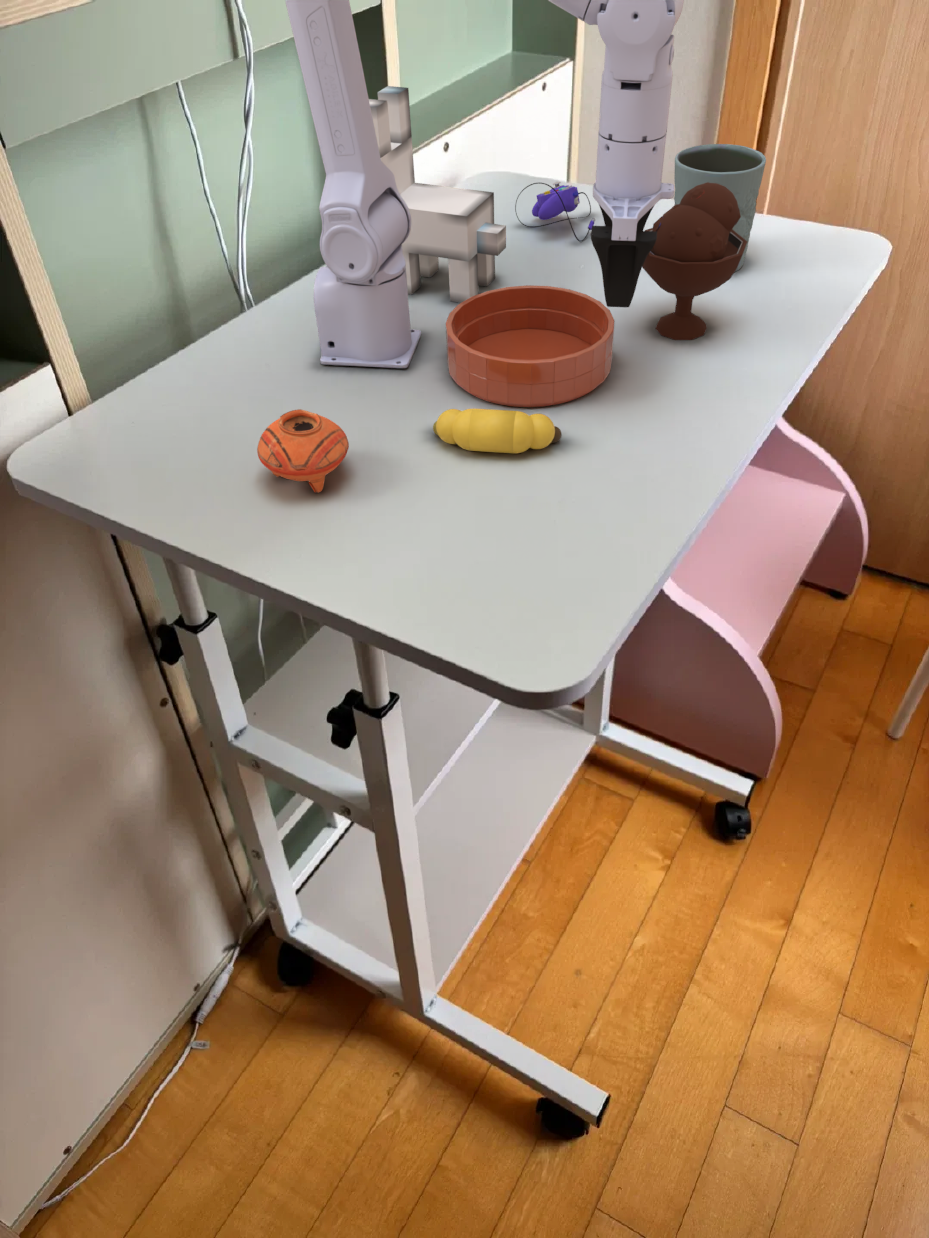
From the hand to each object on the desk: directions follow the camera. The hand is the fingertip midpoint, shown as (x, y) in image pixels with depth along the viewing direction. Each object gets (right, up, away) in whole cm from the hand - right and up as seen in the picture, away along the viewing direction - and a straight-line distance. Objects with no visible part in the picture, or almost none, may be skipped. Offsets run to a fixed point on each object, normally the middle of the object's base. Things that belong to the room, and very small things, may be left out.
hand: (619, 287), depth 90 cm
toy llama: (-18, +9, +25) cm, 32 cm away
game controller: (-1, +20, +36) cm, 41 cm away
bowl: (-8, -5, +9) cm, 13 cm away
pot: (-29, -19, -4) cm, 35 cm away
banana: (-12, -16, -2) cm, 20 cm away
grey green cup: (+15, +12, +27) cm, 33 cm away
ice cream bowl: (+9, 0, +14) cm, 17 cm away
